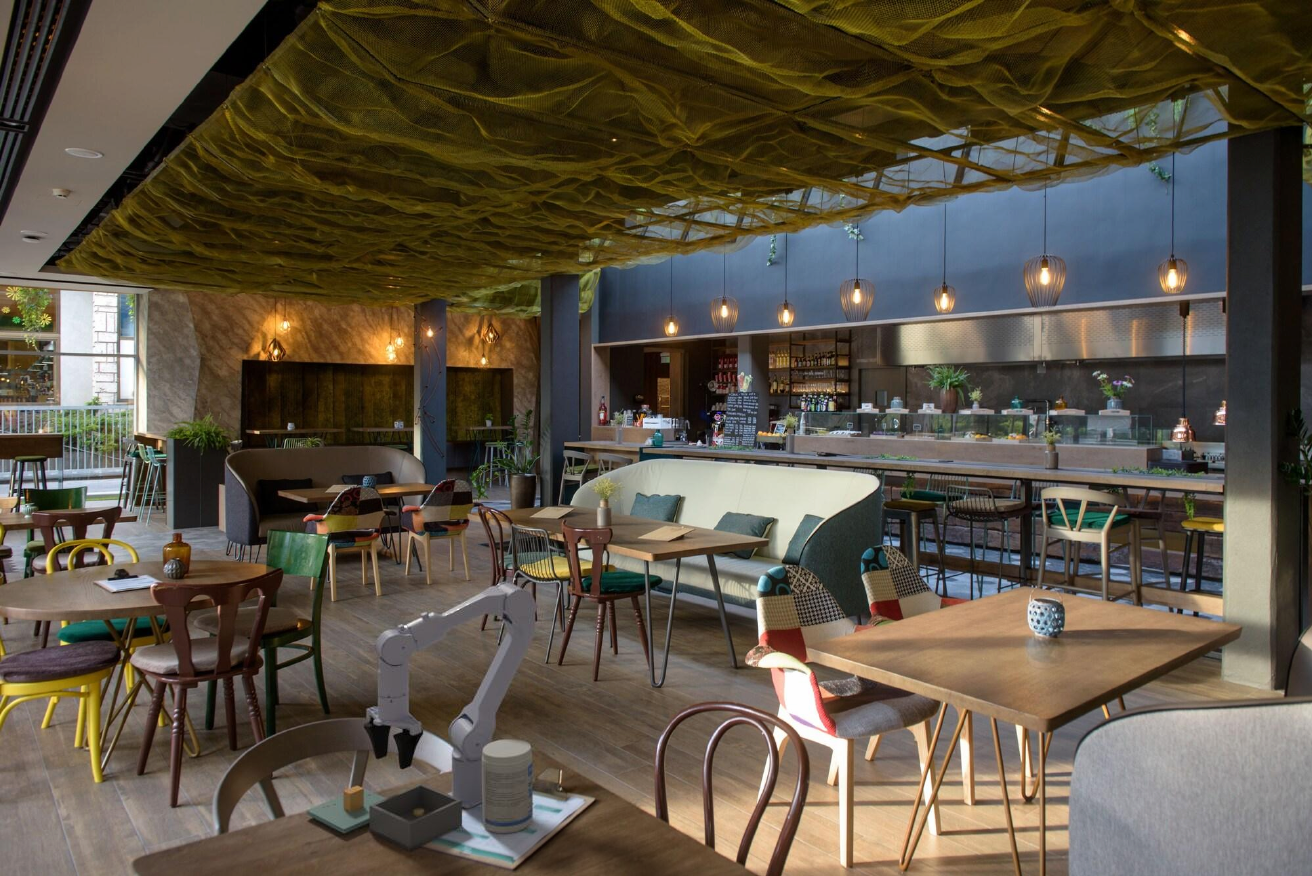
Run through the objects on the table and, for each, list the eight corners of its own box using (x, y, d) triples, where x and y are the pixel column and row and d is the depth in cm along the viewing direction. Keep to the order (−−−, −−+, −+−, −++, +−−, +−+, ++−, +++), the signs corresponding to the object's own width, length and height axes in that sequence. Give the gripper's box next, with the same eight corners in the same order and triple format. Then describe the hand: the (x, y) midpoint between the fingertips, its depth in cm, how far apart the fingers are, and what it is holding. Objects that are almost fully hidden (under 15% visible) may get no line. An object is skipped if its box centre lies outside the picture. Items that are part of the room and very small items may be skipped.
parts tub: (421, 808, 171) (421, 783, 171) (462, 826, 164) (462, 800, 164) (369, 831, 161) (369, 805, 161) (410, 851, 154) (410, 824, 154)
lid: (362, 795, 177) (362, 770, 176) (400, 812, 169) (400, 787, 169) (306, 818, 167) (306, 792, 166) (344, 837, 159) (343, 810, 159)
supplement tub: (540, 827, 164) (541, 750, 163) (494, 840, 159) (494, 762, 158) (519, 807, 172) (519, 734, 171) (474, 819, 167) (474, 744, 166)
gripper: (353, 690, 168) (352, 759, 169) (399, 706, 160) (399, 779, 160) (383, 682, 174) (383, 748, 175) (430, 696, 166) (430, 766, 166)
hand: (393, 762), depth 168 cm, fingers open, 7 cm apart
